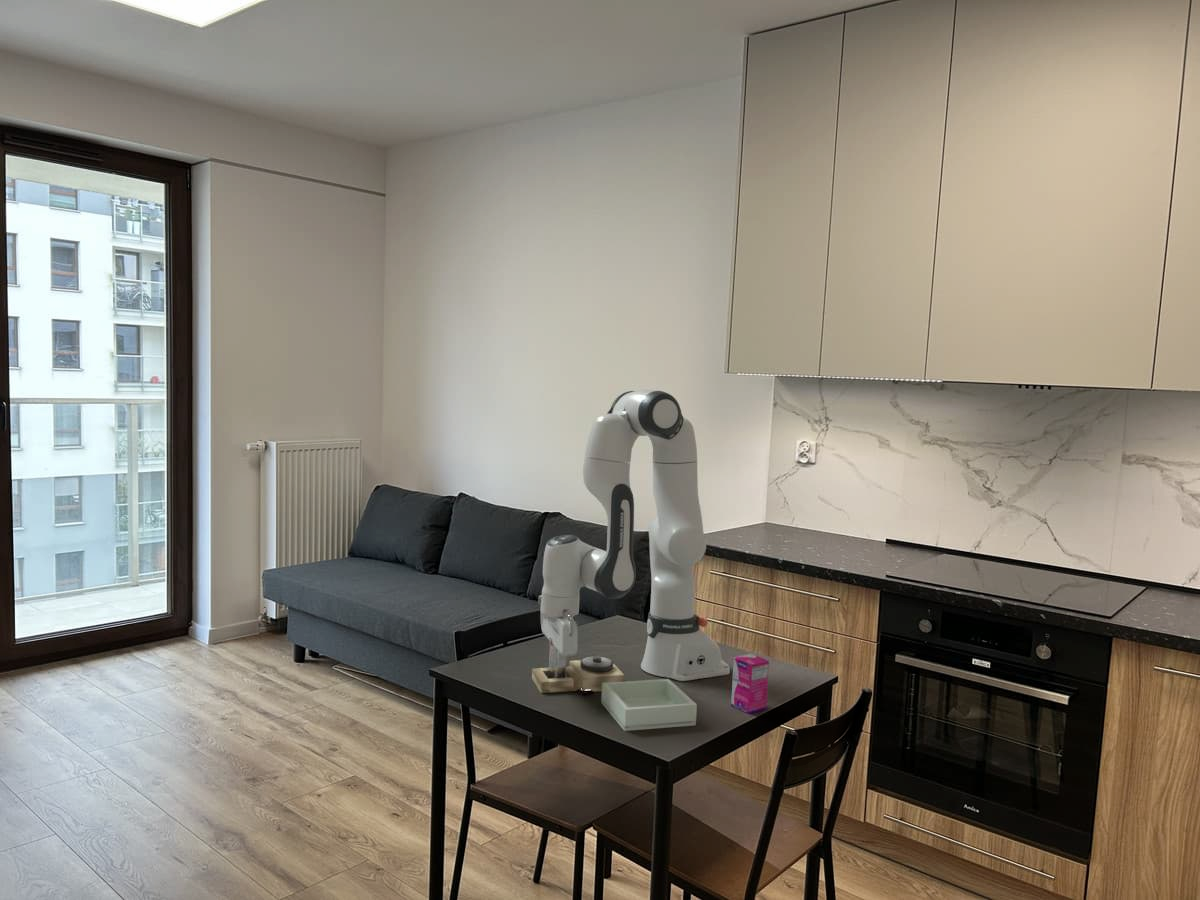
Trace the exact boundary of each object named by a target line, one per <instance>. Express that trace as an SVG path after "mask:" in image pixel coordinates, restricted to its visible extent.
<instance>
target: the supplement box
mask: <svg viewBox="0 0 1200 900" xmlns="http://www.w3.org/2000/svg"><path fill="white" fill-rule="evenodd" d="M769 662H770V661H769V660H768V659H765V658H763V657H761V656H758V655H757V654H756V655H755V654H753V653H747V654H744V655H738V656H734V657H733V665H732V666H733V668H732V669H733V671H732V683H731V685H732V686H731V688H732V689H731V701H730V702H731V703H730V705H731V707H734V708H737V709H739V710H741V711H742V712H744V713H746V714H748V715H750V714H754V713H758V712H762V711H766V710H767V699H768V685H769V684H768V683H769V682H768V681H769V667H770V666H769V665H770V663H769Z"/></svg>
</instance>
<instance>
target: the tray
mask: <svg viewBox="0 0 1200 900" xmlns="http://www.w3.org/2000/svg"><path fill="white" fill-rule="evenodd" d="M600 700H601V702H600V703H601V705H602V706H604V708H605V709H606V710H607V712H608V713H609V714H610V716H611V717H612V718H613V719H614V721H616V723H618V725H619V726H620V727H621V728H622V730H623V731H624V732H628V731H639V730H653V729H664V728H674V727H675V728H677V727H689V726H690V727H691V726H696V724H697V712H698V711H697V709H698V707H697V706H698V704H697V703H696V702H695V701H694V700H693V699H691V698H690V697H689V696H688V695H687V694H686V693H685V692H684V691H682V690H681V689H680V687H678V686H677V685H676V684H675V683H674V682H673V681H671V679H670V678H663V679H644V680H633V681H632V680H630V681H629V680H627V681H624V682H611V683H602V691H601V698H600Z"/></svg>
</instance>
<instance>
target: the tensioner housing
mask: <svg viewBox="0 0 1200 900" xmlns="http://www.w3.org/2000/svg"><path fill="white" fill-rule="evenodd" d="M625 677H626V675H625V673H624V672H622V671H621V670H620V669H619V668H618V667H617V665H616V664H615V663H614V661H612V660H611V659H610V658H607V657H603V656H588V657H584V658H582V659H580V660H579V659H578V660H576V659H575V660H569V666H566V678H554V679H548V678H549V667H537V668H534V667H533V668H531V680H532V681H533V683H534V684H535V685H536V687H537V689H538V690H539V692H540V693H541V694H544V693H545V694H548V693H559V692H561V693H562V692H564V693H565V692H575V691H576V692H577V690H579V689H580V688H582V690H583V691H584V690H585V689H591V690H592V691H593V692H602V683H611V682H625ZM582 690H581V691H582ZM579 691H580V690H579Z"/></svg>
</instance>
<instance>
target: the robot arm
mask: <svg viewBox="0 0 1200 900" xmlns="http://www.w3.org/2000/svg"><path fill="white" fill-rule="evenodd" d="M591 426H592V427H591V428H590V432H589V435H588V439H587V443H586V447H585V452H584V453H585V454H584V459H583V460H584V461H583V467H582V474H583V475H582V477H583V483H584V485H585V487H586V489H587V490H588V492H589V493H591V495H592V496H593V497H595V498H596V499H597V501H598V502H599V503H600V504H601V505H602V507H603V509H604V510H605V513H606V515H607V517H606V518H607V529H606V530H607V532H606V533H607V535H606V537H607V538H606V550H604V549H602V548H597V547H595V546H592V545H590V544H588V543H585V542H584V541H582V540H581V539H579V537H578V536H576V535H573V534H565V535H564V534H563V535H557V536H556V535H555V536H553V537H552V538H550V539H549V540H548V541H547V542H546V544H545V548H544V553H543V561H542V577H543V586H542V589H541V595H538V604H539V606H540V626H541V627H540V628H541V633H543V635H544V636H545V637H546V638H547V639H548V642H549V645H550V638H551V639H552V643H553V645H554V646H555V648H556V649H557V650H558V658H557V663H556V664H557V666H558V667H559V668H562V667H565V663H566V664H567V657H572V656H573V657H574V656H576V655H577V654H578V648H579V647H578V645H579V643H578V642H579V638H578V636H579V635H578V633H579V632H578V624H577V622H576V620H575V619H574V616H576V615H579V612H580V590H581V588H584V587H585V588H587V589H589V590H592V591H595V592H597V593H599V594H601V595H602V596H604V597H606V598H608V599H610V600H617V599H620V598H623V597H624V596H626V595H627V594H628V593H629V592H630V591H631V589H632V588H633V586H634V584H635V581H636V577H637V572H636V571H637V569H636V564H635V559H634V530H635V529H634V528H635V527H634V526H635V500H634V499H635V498H634V494H633V491H632V487H631V482H630V479H631V478H630V469H631V460H632V450H633V448H634V445H635V442H636V440H638V438H639V437H641V436H642V437H646V436H648V438H649V439H650V441H651V446H652V492H653V497H654V501H655V507H656V508H655V509H656V514H657V515H656V516H655V517H654V518H653V519H652V520H651V522H650V524H649V527H648V539H649V540H648V541H649V560H650V561H649V562H650V564H649V566H650V573H651V575H650V576H651V577H650V580H651V586H650V587H651V589H650V590H651V591H650V592H651V593H650V609H649V612H648V616H647V621H646V623H647V624H646V625H647V626H646V627H647V628H646V632H647V633H646V634H647V640H646V646H645V651H644V655H643V658H642V661H641V664H640V668H641V669H642V670H643V671H644V672H646V673H648V674H650V675H653V676H657V677H662V678H667V679H673V680H676V681H679V682H685V681H693V680H698V679H706V678H714V677H721V676H728V675H729V674H731V670H730V669H731V668H730V666H729V664H727V663H726V662H725V661H724V660H723V659H722V654H721V653H722V652H721V649H720V646H719V645H718V643H716V641H714V640H713V639H712V638H711V637H710V636H709V635H708V634H706V633H705V632H704V631H703V630H702V629H701V628H705V627H707V626H708V620H707V619H705V617H700V616H699V615H697V614H695V600H696V580H695V577H694V576H695V575H694V566H693V565H695V564H696V563H698V562H699V561H701V559H703V557H704V555H705V553H706V549H707V541H706V537H705V533H704V526H703V525H704V524H703V517H702V511H701V504H700V500H699V498H700V497H699V490H698V489H699V487H698V486H699V482H698V451H697V450H698V449H697V440H696V436H695V430H694V426H693V424H692V422H691V421H690V420H688V419H687V418H685V417H684V416H683V414H682V410H681V407H680V404H679V402H678V400H677V399H676V398H675V397H674V395H672V394H670V393H669V392H666V391H663V390H653V389H640V390H636V391H635V390H630V391H625V392H623V393H621V394H620V395H618V396H617V397H616V398H615V399H614V401H613V402H612V403H611V406H610V409H609V410H608V411H607V413H604V414H600V415H599V416H597V417H596V418H595V419H594V421H593V424H592V425H591ZM700 627H701V628H700Z"/></svg>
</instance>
